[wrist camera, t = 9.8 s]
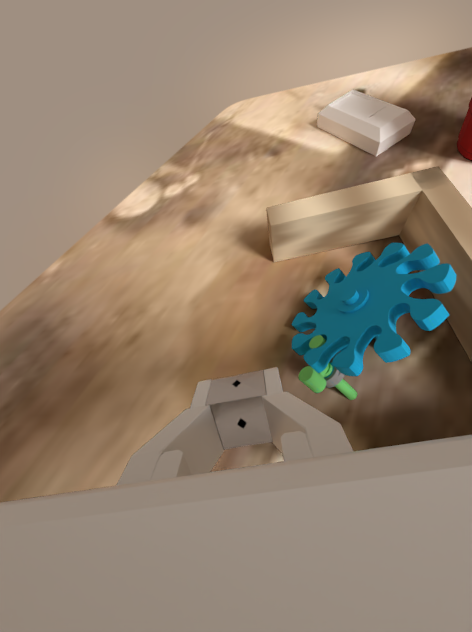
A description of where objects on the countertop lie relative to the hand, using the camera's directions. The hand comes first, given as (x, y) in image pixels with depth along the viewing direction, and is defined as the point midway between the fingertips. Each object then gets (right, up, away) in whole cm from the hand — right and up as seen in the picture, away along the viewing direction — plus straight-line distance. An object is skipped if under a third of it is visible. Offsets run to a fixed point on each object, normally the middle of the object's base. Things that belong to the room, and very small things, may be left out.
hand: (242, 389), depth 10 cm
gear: (+8, +1, +10) cm, 13 cm away
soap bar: (+14, +24, +21) cm, 35 cm away
